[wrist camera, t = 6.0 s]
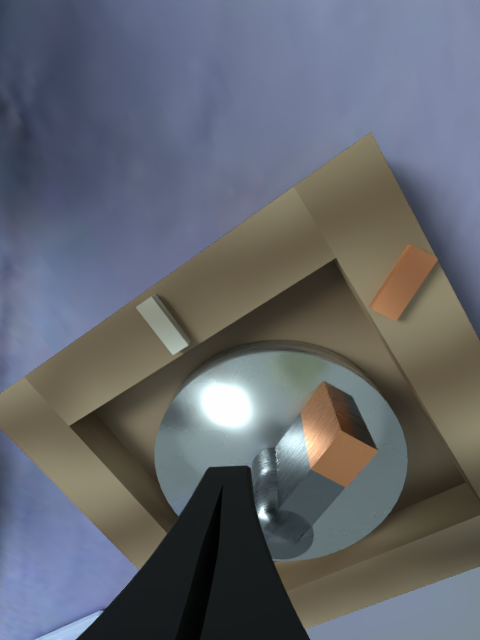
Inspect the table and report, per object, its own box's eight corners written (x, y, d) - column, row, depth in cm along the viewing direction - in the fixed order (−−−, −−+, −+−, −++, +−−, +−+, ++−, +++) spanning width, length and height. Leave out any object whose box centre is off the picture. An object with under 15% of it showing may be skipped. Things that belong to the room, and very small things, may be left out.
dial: (310, 563, 20) (325, 676, 15) (129, 473, 18) (81, 565, 14) (445, 414, 16) (521, 500, 11) (231, 293, 15) (216, 332, 10)
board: (530, 481, 18) (588, 540, 15) (229, 602, 23) (223, 668, 20) (349, 147, 14) (375, 128, 11) (23, 377, 19) (-29, 413, 15)
